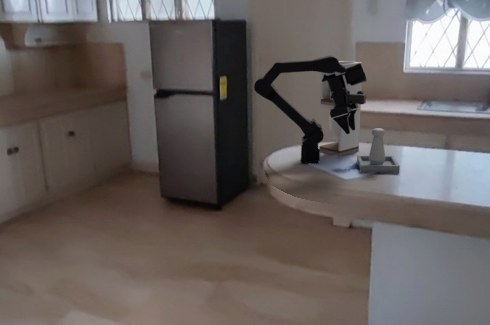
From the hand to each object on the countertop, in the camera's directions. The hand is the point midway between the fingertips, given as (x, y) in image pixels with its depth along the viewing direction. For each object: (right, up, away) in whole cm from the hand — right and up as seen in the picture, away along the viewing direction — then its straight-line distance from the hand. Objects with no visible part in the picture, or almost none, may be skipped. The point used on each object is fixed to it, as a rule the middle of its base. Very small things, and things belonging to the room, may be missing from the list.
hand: (351, 132), depth 182 cm
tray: (+9, -13, -1) cm, 16 cm away
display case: (0, -7, +22) cm, 23 cm away
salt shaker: (+9, -12, -1) cm, 15 cm away
